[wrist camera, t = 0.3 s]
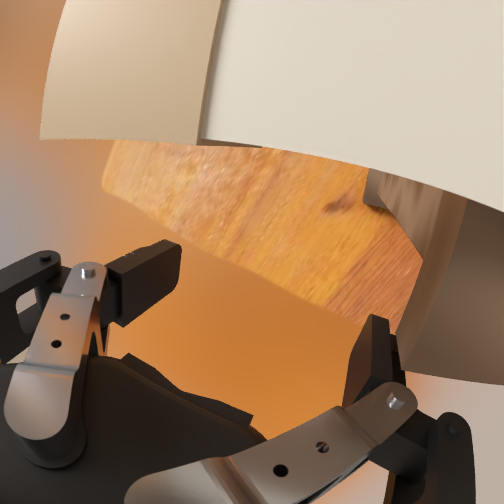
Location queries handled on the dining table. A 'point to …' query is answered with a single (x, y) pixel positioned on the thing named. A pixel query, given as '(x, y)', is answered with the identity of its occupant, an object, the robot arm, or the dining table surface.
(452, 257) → the walnut pedestal
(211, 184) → the dining table surface
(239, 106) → the cream wooden bar
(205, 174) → the dining table surface
